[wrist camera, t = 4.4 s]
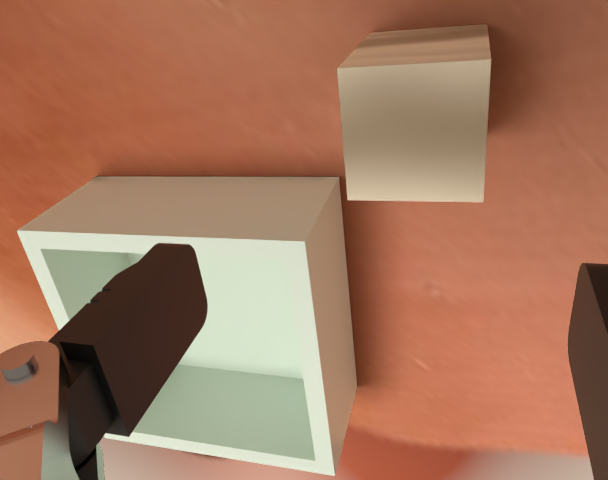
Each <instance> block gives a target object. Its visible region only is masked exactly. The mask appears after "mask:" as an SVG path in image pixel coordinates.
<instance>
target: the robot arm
mask: <svg viewBox="0 0 608 480" xmlns="http://www.w3.org/2000/svg"><path fill="white" fill-rule="evenodd" d="M207 310H208V303H207V297H206V293H205V289H204V285H203V281H202V277H201V272H200V268H199V264H198V260H197V256H196V252H195V250H194V248H193V247H192V246H191V245H189V244H173V243H157V244H155V245H154V246H153V247H152V248H151V249H150V250H149V251H148V252H147V253H146V254H145V255H144V256H143V257H142V258H141V259H140V260H139V261H138V262H137V263H135V264H133V265H131V266H130V267H128V268H126V269H125V270H123V271H121V272H120V273H118V274H116V275H115V276H114V277H113V278H112V279H111V280H110V281H109V282H108V283H107V284H106V285H105V286H104V287H103V288H102V291H99V292H98V293H97V294H96V295H95V296H94V297H93V298H92V299H91V300H90V303H87V304H86V305H85V306H84V307H83V308H82V309H81V310H80V311H79V312H78V313H77V314H76V315H75V316H73V317H72V318H71V319H70V320H69V321H68V322H67V323H66V324H65V325H64V326H63V327H62V328H61V329H60V330H59V331H58V332H57V333H56V334H55V335H54V336H53V337H52V338H51V339H50V340H49V341H48V342H45V341H35V342H29V343H25V344H21V345H18V346H15V347H13V348H11V349H9V350H7V351H5V352H3V353H1V354H0V480H105V476H104V462H103V452H102V449H101V447H100V445H99V441H100V440H101V439H102V437H103V436H104V435H105V433H108V434H114V435H120V436H126V437H129V436H130V435H131V433H132V432H133V430H134V429H135V427H136V426H137V424H138V423H139V421H140V420H141V418H142V417H143V415H144V414H145V412H146V411H147V409H148V408H149V406H150V405H151V403H152V402H153V400H154V399H155V397H156V396H157V394H158V393H159V391H160V390H161V389H162V387H163V386H164V384H165V383H166V381H167V380H168V378H169V377H170V375H171V374H172V372H173V371H174V369H175V368H176V366H177V365H178V363H179V362H180V360H181V359H182V357H183V356H184V354H185V353H186V351H187V350H188V348H189V347H190V345H191V344H192V342H193V341H194V339H195V338H196V336H197V335H198V333H199V332H200V330H201V329H202V327H203V326H204V323H205V321H206V317H207ZM568 355H569V363H570V368H571V372H572V377H573V382H574V386H575V391H576V396H577V401H578V405H579V410H580V415H581V420H582V424H583V429H584V434H585V439H586V443H587V448H588V453H589V457H590V462H591V467H592V471H593V476H594V480H608V264H592V263H582V264H581V266H580V269H579V273H578V278H577V284H576V290H575V296H574V302H573V308H572V314H571V320H570V326H569V334H568Z"/></svg>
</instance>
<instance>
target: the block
mask: <svg viewBox="0 0 608 480" xmlns="http://www.w3.org/2000/svg"><path fill="white" fill-rule="evenodd" d="M490 72H491V53H490V44H489V35H488V26H487V24H479V25H466V26H453V27H439V28H426V29H413V30H400V31H387V32H373V33H369V34H368V36H367V37H366V38H365V39H364V40H363V41H362V42H361V43H360V44H359V45H358V46H357V47H356V48H355V50H354V51H353V52H352V53H351V54H350V55H349V56H348V57H347V58H346V59H345V60H344V61H343V62H342V63H341V65H340V66H339V67H338V68H337V76H338V89H339V101H340V113H341V126H342V138H343V150H344V163H345V175H346V188H347V200H363V201H432V202H483V198H484V180H485V162H486V144H487V126H488V108H489V90H490Z"/></svg>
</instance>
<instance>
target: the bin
mask: <svg viewBox="0 0 608 480" xmlns="http://www.w3.org/2000/svg"><path fill="white" fill-rule="evenodd" d="M17 233H18V235H19V237H20V240H21V242H22V244H23V247H24V249H25V251H26V254H27V256H28V258H29V261H30V263H31V266H32V268H33V270H34V273H35V275H36V277H37V280H38V282H39V284H40V287H41V289H42V291H43V294H44V296H45V299H46V301H47V303H48V306H49V308H50V310H51V313H52V315H53V317H54V320H55V322H56V324H57V327H58V329H59V330H60V329H61V328H62V327H63V326H64V325H65V324H66V323H67V322H68V321H69V320H70V319H71V318H72V317H73V316H75V315H76V314H77V313H78V312H79V311H80V310H81V309H82V308H83V307H84V306H85V305H86V304H87V303H90V300H91V299H92V298H93V297H94V296H95V295H96V294H97V293H98V292H99V291H102V288H103V287H104V286H105V285H106V284H107V283H108V282H109V281H110V280H111V279H112V278H113V277H114V276H115V275H116V274H118V273H120V272H121V271H123V270H125V269H126V268H128V267H130V266H131V265H133V264H135V263H137V262H138V261H139V260H140V259H141V258H142V257H143V256H144V255H145V254H146V253H147V252H148V251H149V250H150V249H151V248H152V247H153V246H154V245H155V244H157V243H173V244H189V245H191V246H192V247H193V248H194V250H195V252H196V256H197V260H198V264H199V268H200V272H201V277H202V281H203V285H204V289H205V293H206V297H207V303H208V310H207V317H206V321H205V323H204V326H203V327H202V329H201V330H200V332H199V333H198V335H197V336H196V338H195V339H194V341H193V342H192V344H191V345H190V347H189V348H188V350H187V351H186V353H185V354H184V356H183V357H182V359H181V360H180V362H179V363H178V365H177V366H176V368H175V369H174V371H173V372H172V374H171V375H170V377H169V378H168V380H167V381H166V383H165V384H164V386H163V387H162V389H161V390H160V391H159V393H158V394H157V396H156V397H155V399H154V400H153V402H152V403H151V405H150V406H149V408H148V409H147V411H146V412H145V414H144V415H143V417H142V418H141V420H140V421H139V423H138V424H137V426H136V427H135V429H134V430H133V432H132V433H131V435H130V436H129V437H126V436H120V435H114V434H108V433H105V435H104V437H105V438H109V439H115V440H121V441H128V442H134V443H140V444H146V445H152V446H158V447H164V448H170V449H176V450H182V451H188V452H194V453H200V454H206V455H212V456H218V457H224V458H230V459H236V460H242V461H248V462H254V463H260V464H266V465H272V466H278V467H285V468H290V469H296V470H303V471H308V472H315V473H321V474H327V475H332V476H335V473H336V470H337V465H338V462H339V458H340V454H341V450H342V446H343V442H344V438H345V434H346V430H347V426H348V422H349V418H350V414H351V410H352V406H353V402H354V398H355V394H356V391H357V378H356V366H355V355H354V343H353V332H352V320H351V309H350V297H349V286H348V274H347V263H346V251H345V240H344V228H343V217H342V205H341V194H340V182H339V177H164V176H96V177H95V178H93V179H92V180H90V181H89V182H87V183H86V184H85V185H83V186H82V187H80V188H79V189H77V190H76V191H74V192H73V193H71V194H70V195H68V196H67V197H65V198H64V199H62V200H61V201H59V202H58V203H56V204H55V205H54V206H52V207H51V208H49V209H48V210H46V211H45V212H43V213H42V214H40V215H39V216H37V217H36V218H34V219H33V220H31V221H30V222H28V223H27V224H26V225H24V226H23V227H21V228H20V229H18V230H17Z"/></svg>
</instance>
